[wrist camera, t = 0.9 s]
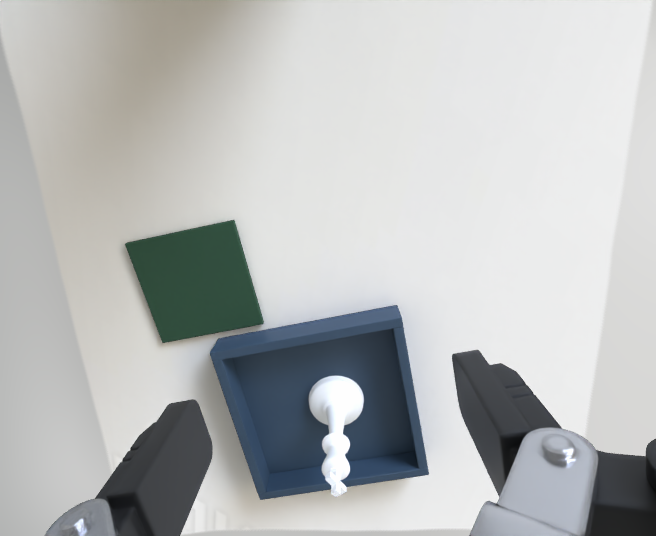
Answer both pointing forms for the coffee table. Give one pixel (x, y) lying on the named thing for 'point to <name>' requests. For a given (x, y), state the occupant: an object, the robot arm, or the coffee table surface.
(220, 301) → the pad
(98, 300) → the coffee table surface
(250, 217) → the coffee table surface
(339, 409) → the chess piece
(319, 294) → the coffee table surface
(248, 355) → the tray
